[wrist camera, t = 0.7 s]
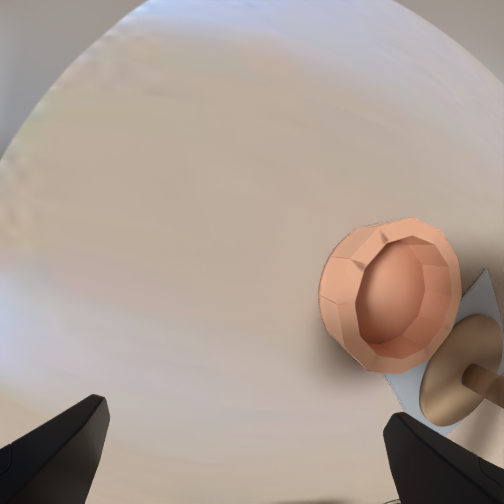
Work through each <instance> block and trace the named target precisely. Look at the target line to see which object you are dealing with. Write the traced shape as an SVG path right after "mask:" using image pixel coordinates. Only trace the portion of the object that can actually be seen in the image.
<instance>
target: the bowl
mask: <svg viewBox="0 0 504 504" xmlns="http://www.w3.org/2000/svg"><path fill="white" fill-rule="evenodd" d="M318 294H319V308H320V313H321V317H322V320H323V322H324V325H325V327H326V330H327V332H328V333H329V334H330V335H331V336H332V337H333V338H334V340H336V341H337V342H338V343H339V344H340V345H341V346H342V347H343V348H344V349H345V350H346V351H347V352H348V353H349V354H350V355H351V356H352V357H353V358H354V359H355V360H357V361H358V362H359V363H360V364H361V365H362V366H363V367H364V368H366V369H367V370H368V371H373V372H381V373H390V374H402V373H404V372H406V371H408V370H410V369H412V368H414V367H416V366H418V365H420V364H421V363H423V362H425V361H427V360H429V359H430V358H431V357H432V356H433V354H434V353H435V352H436V351H437V349H438V348H439V347H440V345H441V344H442V343H443V342H444V340H445V339H446V338H447V336H448V335H449V334H450V332H451V330H452V328H453V325H454V322H455V318H456V315H457V311H458V308H459V304H460V300H461V296H462V289H461V278H460V269H459V261H458V258H457V256H456V254H455V252H454V251H453V249H452V248H451V246H450V244H449V243H448V241H447V239H446V238H445V236H444V235H443V233H442V232H441V230H439V229H437V228H435V227H432V226H430V225H428V224H426V223H424V222H421V221H419V220H417V219H415V218H405V219H398V220H391V221H385V222H382V223H378V224H374V225H368V226H365V227H362V228H359V229H355V230H354V231H353V232H352V233H350V234H349V235H348V236H346V237H345V238H344V239H343V240H342V241H341V242H340V243H339V244H338V245H337V246H336V247H335V249H334V250H333V251H332V253H331V254H330V256H329V258H328V260H327V262H326V264H325V266H324V269H323V272H322V275H321V279H320V284H319V293H318Z"/></svg>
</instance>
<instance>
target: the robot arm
mask: <svg viewBox="0 0 504 504" xmlns="http://www.w3.org/2000/svg"><path fill="white" fill-rule="evenodd" d="M109 422H110V414H109V409H108V405H107V401H106V398H105V397H103V396H99V395H96V394H92V395H90V396H88V397H87V398H85V399H83V400H82V401H80V402H78V403H77V404H75V405H74V406H72V407H70V408H69V409H67V410H66V411H64V412H62V413H61V414H59V415H57V416H56V417H54V418H52V419H51V420H49V421H47V422H46V423H44V424H42V425H41V426H39V427H37V428H36V429H34V430H32V431H31V432H29V433H27V434H25V435H24V436H22V437H20V438H19V439H17V440H15V441H13V442H12V443H11V444H8V445H6V446H4V447H3V448H1V449H0V504H85V501H86V498H87V495H88V493H89V490H90V487H91V484H92V481H93V478H94V476H95V473H96V470H97V467H98V465H99V462H100V458H101V454H102V450H103V446H104V442H105V437H106V433H107V430H108V426H109ZM383 437H384V441H385V446H386V451H387V455H388V460H389V465H390V469H391V473H392V476H393V479H394V482H395V486H396V489H397V492H398V495H399V498H400V502H401V504H504V469H503V468H500V467H498V466H496V465H494V464H492V463H490V462H488V461H486V460H484V459H482V458H481V457H478V456H477V455H475V454H473V453H472V452H470V451H468V450H466V449H465V448H463V447H461V446H460V445H458V444H456V443H454V442H453V441H451V440H449V439H448V438H446V437H444V436H443V435H441V434H439V433H438V432H436V431H434V430H433V429H431V428H430V427H428V426H426V425H425V424H423V423H421V422H420V421H418V420H417V419H415V418H413V417H412V416H410V415H409V414H407V413H405V412H399V413H394V414H393V415H392V416H391V418H390V420H389V421H388V423H387V425H386V426H385V428H384V431H383Z"/></svg>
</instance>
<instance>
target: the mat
mask: <svg viewBox="0 0 504 504" xmlns="http://www.w3.org/2000/svg"><path fill="white" fill-rule="evenodd" d="M473 314H482V315H486V316H489V317H492V318H493V319H495V320H496V321H497V323H498V324H499V326H500V328H501V331H502V336H503V353H502V359H501V363H500V367H499V370H498V373H497V374H498V375H500V376H501V375H502V374H503V373H504V332H503V327H502V322H501V317H500V313H499V308H498V304H497V300H496V296H495V293H494V289H493V285H492V282H491V279H490V275H489V272H488V269H485V270H484V271H483V273H482V274H481V275H480V276H479V278H478V279H477V280H476V281H475V283H474V284H473V285H472V286H471V287H470V289H469V290H468V291H467V292H466V293H465V294H464V296H463V297H462V298H461V300H460V304H459V308H458V311H457V315H456V318H455V322H454V325H455V324H456V323H458V322H459V321H460V320H462V319H463V318H465V317H467V316H469V315H473ZM454 325H453V326H454ZM429 360H430V359H429ZM429 360H427V361H425V362H423V363H421V364H420V365H418V366H416V367H414V368H412V369H410V370H408V371H406V372H404V373H402V374H390V373H384V374H385V376H386V378H387V380H388V382H389V384H390V385H391V387H392V389H393V391H394V393H395V395H396V396H397V398H398V400H399V402H400V404H401V406H402V408H403V410H404V412H405V413H407V414H409V415H410V416H412V417H413V418H415V419H417V420H418V421H420V422H421V423H423V424H425V425H426V426H428V427H430V428H431V429H433V430H434V431H436V432H438V433H439V434H441V435H443V436H444V437H446V436H447V435H448V434H449V433H450V432H451V431H452V430H453V429H454V428H455V427H456V426H457V425H458V424H459V423H460V422H461V421H462V420H463V419H462V420H461V421H459V422H457V423H455V424H453V425H450V426H446V427H439V426H436V425H433V424H432V423H431V422H430V421H429V420H427V419H426V418H425V417H424V416H423V414H422V412H421V410H420V406H419V390H420V385H421V381H422V377H423V374H424V371H425V369H426V366H427V364H428V362H429Z"/></svg>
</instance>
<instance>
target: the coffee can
mask: <svg viewBox="0 0 504 504" xmlns="http://www.w3.org/2000/svg"><path fill="white" fill-rule="evenodd" d="M386 504H401V502H400V500H396V501H391V502H389V503H386Z"/></svg>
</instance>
